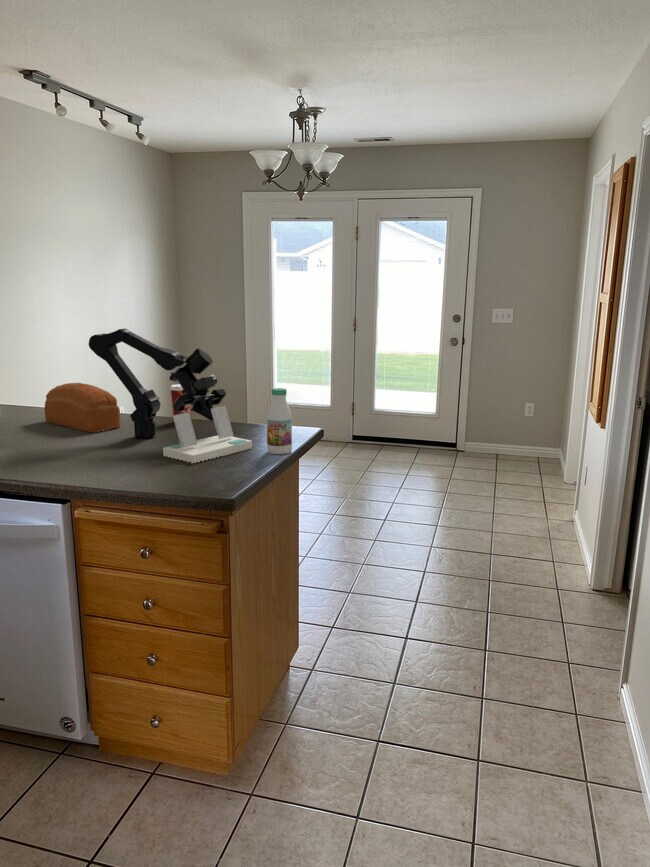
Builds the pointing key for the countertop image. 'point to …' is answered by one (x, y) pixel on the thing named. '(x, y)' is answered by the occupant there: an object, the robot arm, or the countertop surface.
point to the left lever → (185, 430)
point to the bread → (82, 407)
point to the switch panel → (207, 449)
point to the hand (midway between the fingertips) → (213, 420)
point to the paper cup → (175, 393)
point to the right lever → (222, 422)
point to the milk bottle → (279, 424)
